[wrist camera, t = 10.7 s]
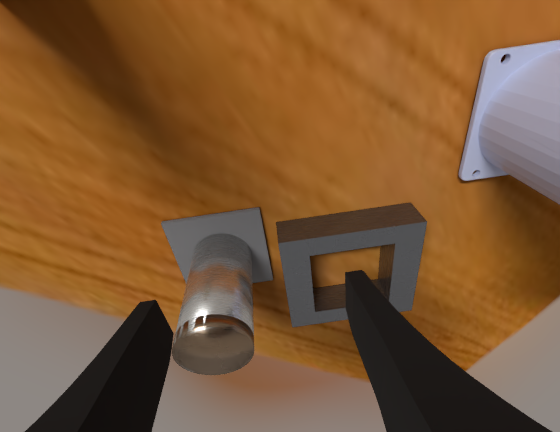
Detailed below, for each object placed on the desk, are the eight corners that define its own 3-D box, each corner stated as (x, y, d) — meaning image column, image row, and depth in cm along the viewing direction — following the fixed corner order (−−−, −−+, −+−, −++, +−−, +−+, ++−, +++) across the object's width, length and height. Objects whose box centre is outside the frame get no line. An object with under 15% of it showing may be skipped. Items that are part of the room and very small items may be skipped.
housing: (410, 202, 22) (427, 221, 20) (399, 287, 27) (411, 310, 25) (276, 222, 22) (278, 243, 20) (289, 303, 27) (292, 327, 25)
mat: (259, 207, 21) (259, 209, 21) (272, 277, 25) (273, 280, 25) (162, 221, 21) (161, 223, 21) (190, 289, 25) (190, 292, 25)
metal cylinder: (250, 232, 22) (252, 324, 15) (252, 275, 24) (255, 371, 18) (189, 234, 22) (164, 330, 15) (197, 278, 24) (179, 377, 17)
